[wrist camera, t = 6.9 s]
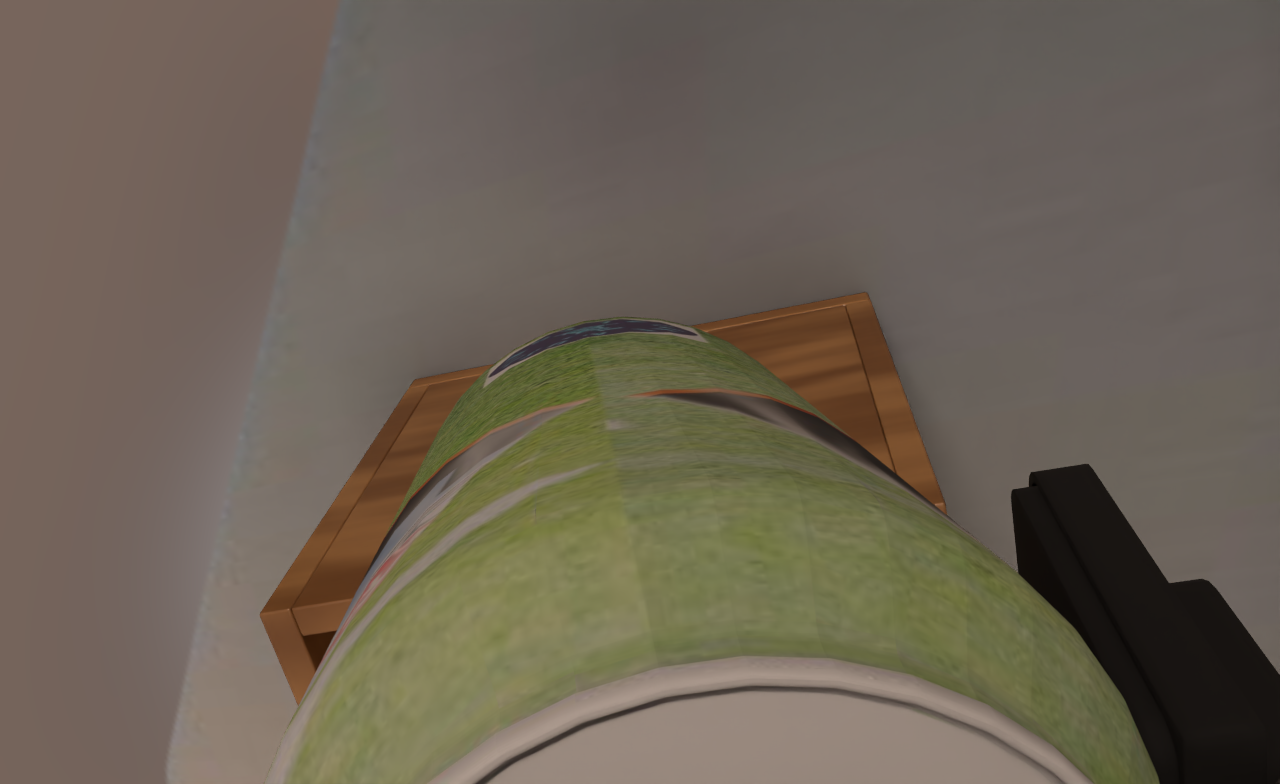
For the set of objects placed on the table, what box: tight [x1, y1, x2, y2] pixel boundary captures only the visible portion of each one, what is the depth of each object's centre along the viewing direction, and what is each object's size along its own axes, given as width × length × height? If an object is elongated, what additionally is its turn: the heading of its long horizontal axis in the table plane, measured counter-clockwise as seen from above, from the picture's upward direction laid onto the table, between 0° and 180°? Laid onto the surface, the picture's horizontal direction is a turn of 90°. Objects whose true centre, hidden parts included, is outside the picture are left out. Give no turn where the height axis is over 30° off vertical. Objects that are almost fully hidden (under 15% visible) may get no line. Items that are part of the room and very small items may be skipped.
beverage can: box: [264, 317, 1160, 784], centre depth 11 cm, size 6×7×12 cm
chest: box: [260, 293, 947, 706], centre depth 34 cm, size 15×16×14 cm
